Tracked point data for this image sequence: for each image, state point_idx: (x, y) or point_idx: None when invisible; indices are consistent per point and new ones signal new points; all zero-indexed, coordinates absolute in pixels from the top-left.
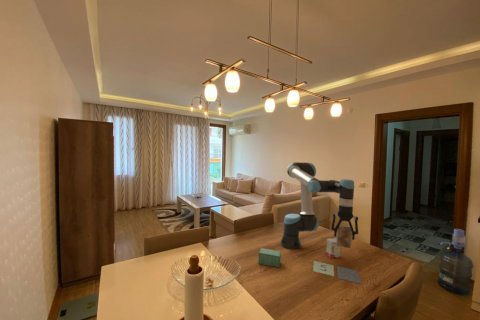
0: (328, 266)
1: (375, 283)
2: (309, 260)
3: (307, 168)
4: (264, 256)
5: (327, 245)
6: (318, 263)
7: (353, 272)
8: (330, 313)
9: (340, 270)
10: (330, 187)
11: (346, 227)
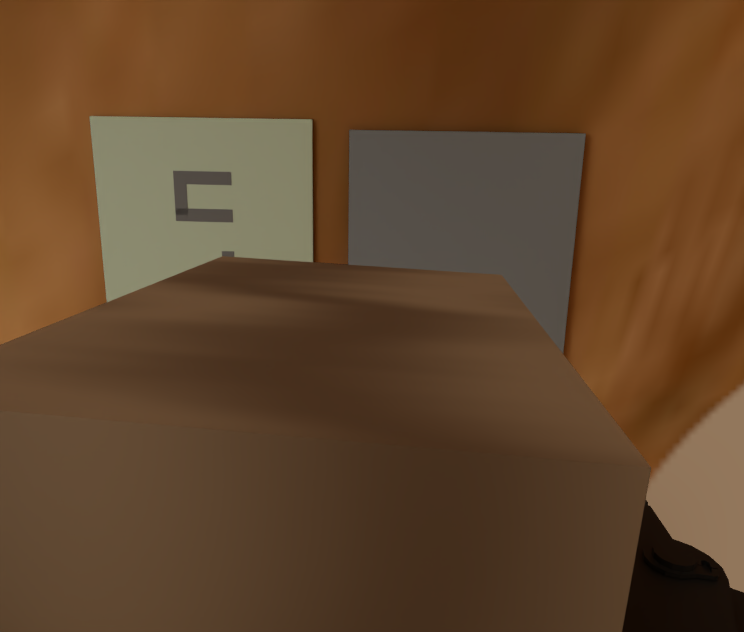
0: (256, 178)
1: (707, 311)
2: (43, 122)
3: None
4: None
5: None
6: (146, 158)
7: (522, 196)
8: None
9: (382, 217)
10: None
11: (367, 585)
